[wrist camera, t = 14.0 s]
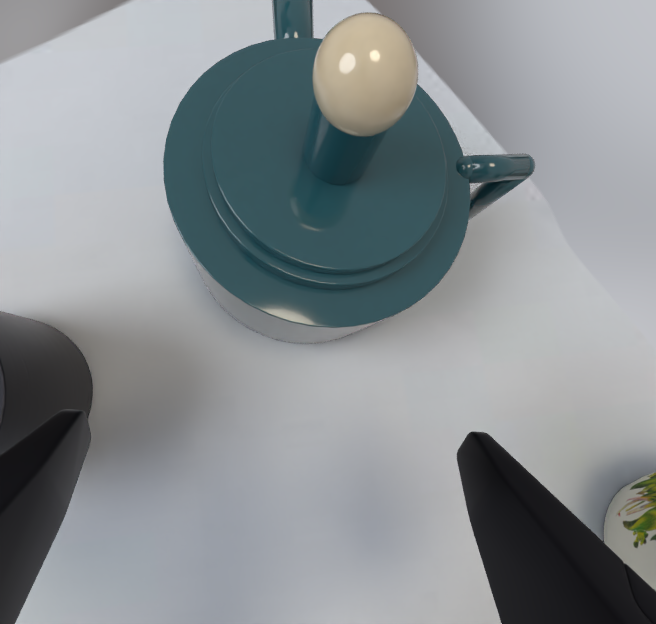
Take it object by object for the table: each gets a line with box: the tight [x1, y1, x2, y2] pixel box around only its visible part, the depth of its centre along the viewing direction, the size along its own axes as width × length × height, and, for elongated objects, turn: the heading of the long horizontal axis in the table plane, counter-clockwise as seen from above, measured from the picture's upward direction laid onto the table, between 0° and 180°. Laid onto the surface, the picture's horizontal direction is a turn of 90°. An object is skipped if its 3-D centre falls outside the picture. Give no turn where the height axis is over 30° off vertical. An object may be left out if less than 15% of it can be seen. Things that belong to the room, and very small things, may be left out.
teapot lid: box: [211, 12, 446, 274], centre depth 12 cm, size 9×9×6 cm
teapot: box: [163, 0, 535, 344], centre depth 20 cm, size 18×17×8 cm
